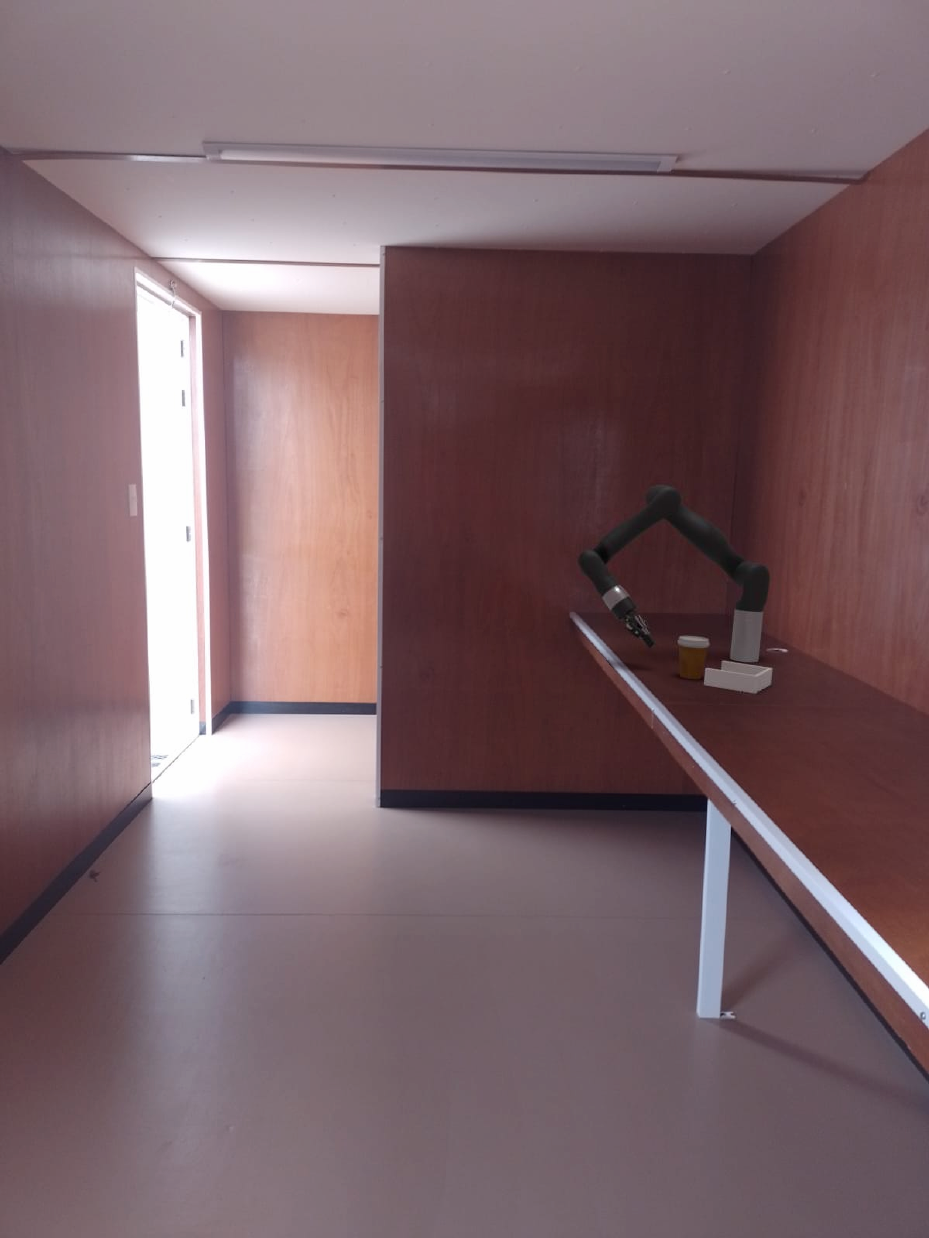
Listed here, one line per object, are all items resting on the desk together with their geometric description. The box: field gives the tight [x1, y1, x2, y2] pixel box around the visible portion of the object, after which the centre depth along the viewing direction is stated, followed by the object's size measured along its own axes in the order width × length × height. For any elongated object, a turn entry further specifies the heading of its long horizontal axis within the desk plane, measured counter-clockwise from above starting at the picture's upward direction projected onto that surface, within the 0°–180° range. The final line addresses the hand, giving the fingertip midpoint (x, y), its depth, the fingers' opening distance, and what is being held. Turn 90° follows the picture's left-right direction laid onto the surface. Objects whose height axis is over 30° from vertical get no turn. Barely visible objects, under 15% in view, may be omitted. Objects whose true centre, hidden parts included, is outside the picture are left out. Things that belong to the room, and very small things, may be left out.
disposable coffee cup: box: [677, 635, 710, 680], centre depth 272 cm, size 10×10×12 cm
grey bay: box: [703, 660, 773, 695], centre depth 264 cm, size 16×15×5 cm
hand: (652, 646), depth 279 cm, fingers closed
